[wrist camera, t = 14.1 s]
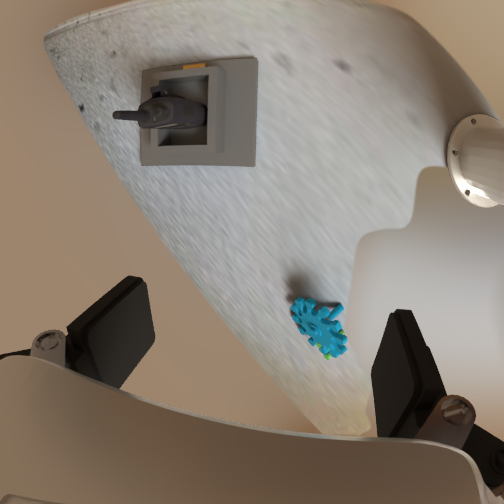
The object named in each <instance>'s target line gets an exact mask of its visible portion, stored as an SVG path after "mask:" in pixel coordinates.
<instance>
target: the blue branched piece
mask: <svg viewBox="0 0 504 504" xmlns="http://www.w3.org/2000/svg"><path fill="white" fill-rule="evenodd" d="M305 305H306V306H305ZM316 305H317V303H316V301H315V300H313V299H312V298H308V299H307V300H306V301H305V299H304V298H302V297H298V298H297V299H296V300H295V304H293V305H292V306H291V310H292V311H293V312H295V314H294V315H293V316H292V318H293V320H294V321H295V322H297V323H299V324H300V325H301V326H300V327H299V328H298V329H299V331H300V333H301V334H303V335H304V334H307V335H309V336H311V338H309V339H308V342H309V343H310V344H311V345H312V346H314V345H317V346H318V347H319V350H320V351H321V352H322V353H323V354H324V358H325V359H327V360H329V359H330V358H331V357H335V358H336V357H338V356H339V355H341V354H343V353H344V352H345V351H346V350H347V348H346V347H345V346H344V344H345V343H346V342H347V337H346V336H345V335H344V331H343V330H341V331H340V332H338V331H339V330H340V329H341V328H342V327H341V324H340V322H339V321H338V320H335V321H332V320H333V319H334V318H335V317H336V316H337V315H338V314H339V313H340V312H341V311H343V310H344V307H343V306H342V305H341V304H339V305H338V306H337V307H336V308H334V309H333V310H332V311H331V312H330V311H329V310H328V309H327V308H326V307H325V306H323V307H322V308H321V309H320V310H318V312H316V311H315V310H314V307H315V306H316ZM306 307H307V308H306Z"/></svg>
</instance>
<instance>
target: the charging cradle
mask: <svg viewBox="0 0 504 504" xmlns="http://www.w3.org/2000/svg"><path fill="white" fill-rule="evenodd" d="M154 86H163V87H164V88H165V89H166V90H167V91H168V92H170V93H172V94H175V95H178V96H182V97H184V98H185V99H188V100H191V101H195V102H198V103H202V104H204V105H205V106H206V107H207V108H208V119H207V124H206V125H205V126H201V127H197V128H191V129H182V130H179V129H178V130H176V129H170V130H166V129H162V130H161V129H143V128H141V166H159V165H216V166H247V167H254V166H255V156H256V122H257V88H258V59H257V58H249V59H228V60H215V61H204V62H195V63H187V64H179V65H172V66H166V67H160V68H154V69H149V70H144V71H143V74H142V96H141V104H142V103H143V102H145V101H147V100H149V99H150V98H152V93H151V94H150V88H151V87H154Z"/></svg>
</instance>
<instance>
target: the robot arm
mask: <svg viewBox="0 0 504 504" xmlns="http://www.w3.org/2000/svg"><path fill="white" fill-rule="evenodd" d="M471 121H472V123H471ZM452 151H453V152H454V153H453V154H452ZM447 164H448V169H449V173H450V176H451V179H452V182H453V184H454V186H455V188H456V189H457V190H458V192H459V193H460V194H461V195H462V196H463V197H464V198H465V199H466V200H467V201H469V202H471V203H472V204H474V205H477V206H480V207H493V206H495V205H498V204H502V205H503V206H504V126H503V125H502V124H501V123H500V122H499V121H498V120H496V119H495V118H493V117H491V116H488V115H484V114H475V115H470V116H468V117H465V118H464V119H462V120H461V121H460V122H459V123H458V124H457V125H456V127H455V128H454V129H453V132H452V134H451V136H450V139H449V143H448V149H447ZM465 191H466V192H465ZM67 331H68V335H67V336H65V334H64V333H63V332H61V331H60V330H48V331H44V332H42V333H40V334H39V335H38V336H36V338H35V339H34V340H33V343H32V347H31V349H27V350H22V351H17V352H12V353H6V354H2V355H0V504H504V442H503V441H501V440H500V439H498V438H497V437H495V436H493V435H492V434H490V433H489V432H487V431H485V430H484V429H482V428H481V427H479V426H477V425H476V424H474V422H475V418H476V412H475V409H474V407H473V405H472V404H471V403H470V402H469V401H468V400H467V399H465V398H464V397H461V396H459V395H447V394H446V391H445V388H444V385H443V382H442V379H441V377H440V374H439V371H438V368H437V366H436V363H435V361H434V358H433V355H432V353H431V351H430V348H429V347H428V346H426V343H425V341H424V338H423V336H422V334H421V331H420V329H419V327H418V324H417V322H416V319H415V317H414V315H413V313H412V311H411V310H403V309H396V311H395V312H394V313H390V315H389V318H388V321H387V325H386V328H385V331H384V334H383V337H382V341H381V343H380V347H379V349H378V352H377V355H376V358H375V361H374V364H373V366H372V370H371V380H372V388H373V396H374V404H375V414H376V424H377V435H378V437H355V436H338V435H325V434H312V433H303V432H294V431H285V430H278V429H272V428H265V427H259V426H254V425H247V424H243V423H237V422H232V421H227V420H223V419H218V418H213V417H210V416H205V415H201V414H197V413H193V412H189V411H186V410H182V409H178V408H175V407H171V406H168V405H165V404H162V403H158V402H155V401H152V400H149V399H146V398H143V397H140V396H136V395H134V394H131V393H128V392H125V391H123V390H120V389H119V388H120V387H121V386H122V384H123V383H124V382H125V380H126V379H127V377H128V376H129V375H130V374H131V372H132V371H133V370H134V368H135V367H136V366H137V364H138V363H139V362H140V361H141V359H142V358H143V357H144V355H145V354H146V353H147V351H148V350H149V349H150V347H151V346H152V345H153V343H154V341H155V332H154V327H153V321H152V315H151V310H150V303H149V297H148V290H147V285H146V283H145V282H144V281H143V279H142V278H140V277H135V276H127V277H126V278H125V279H123V280H122V281H121V282H120V283H118V284H117V285H116V286H115V287H113V288H112V289H111V290H110V291H108V292H107V293H106V294H105V295H104V296H102V298H100V299H99V300H98V301H96V302H95V303H94V304H93V305H92V306H90V307H89V308H88V309H87V310H86V311H85V312H83V313H82V314H81V315H80V316H79V317H77V318H76V319H75V320H74V321H73V322H72V323H71V324H70V325H68V326H67Z"/></svg>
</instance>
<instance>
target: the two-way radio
mask: <svg viewBox="0 0 504 504" xmlns="http://www.w3.org/2000/svg"><path fill="white" fill-rule="evenodd" d="M151 93H152V98H150V99H149V100H147V101H145V102H143V103H142V104H141V105H140V106H139V109H138V111H115V112H114V113H113V115H112V116H113V118H114V119H121V120H134V121H138V124H139V126H140V127H141V128H143V129H161V130H162V129H166V130H170V129H176V130H178V129H179V130H182V129H191V128H197V127H201V126H205V125H206V124H207V119H208V108H207V107H206V106H205V105H204V104H202V103H198V102H195V101H191V100H188V99H185V98H184V97H182V96H178V95H175V94H172V93H170V92H168V91H167V90H166V89H165V88H164V87H163V86H154V87H151V88H150V94H151Z"/></svg>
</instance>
